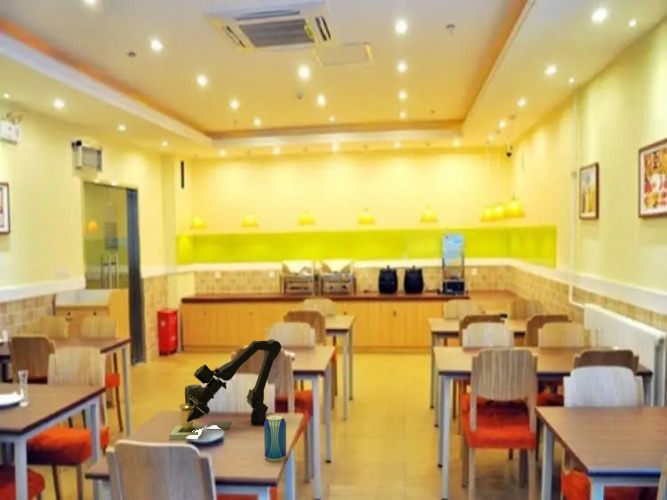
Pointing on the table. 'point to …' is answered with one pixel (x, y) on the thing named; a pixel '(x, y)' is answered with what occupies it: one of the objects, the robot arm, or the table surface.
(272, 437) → the beer can
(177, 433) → the housing
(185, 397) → the camera lens
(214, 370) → the robot arm
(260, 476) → the table surface
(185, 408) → the brass cover
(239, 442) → the table surface
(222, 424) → the mat
